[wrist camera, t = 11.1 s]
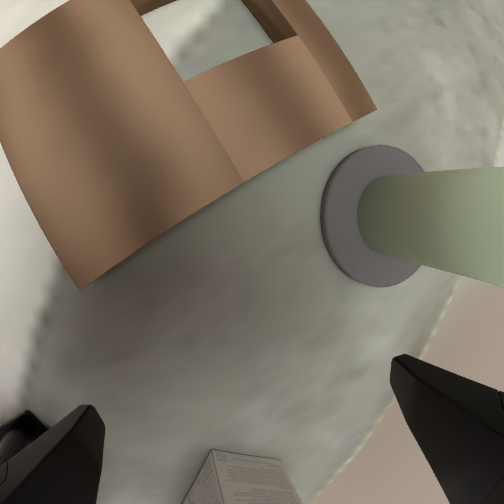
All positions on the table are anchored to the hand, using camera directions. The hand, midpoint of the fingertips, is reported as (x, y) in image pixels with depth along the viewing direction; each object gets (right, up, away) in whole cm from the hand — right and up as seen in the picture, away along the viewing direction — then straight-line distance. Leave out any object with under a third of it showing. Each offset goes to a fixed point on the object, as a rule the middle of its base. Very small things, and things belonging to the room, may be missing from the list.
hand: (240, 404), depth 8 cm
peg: (+10, +7, +12) cm, 17 cm away
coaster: (+10, +7, +13) cm, 18 cm away
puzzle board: (-5, +15, +9) cm, 18 cm away
